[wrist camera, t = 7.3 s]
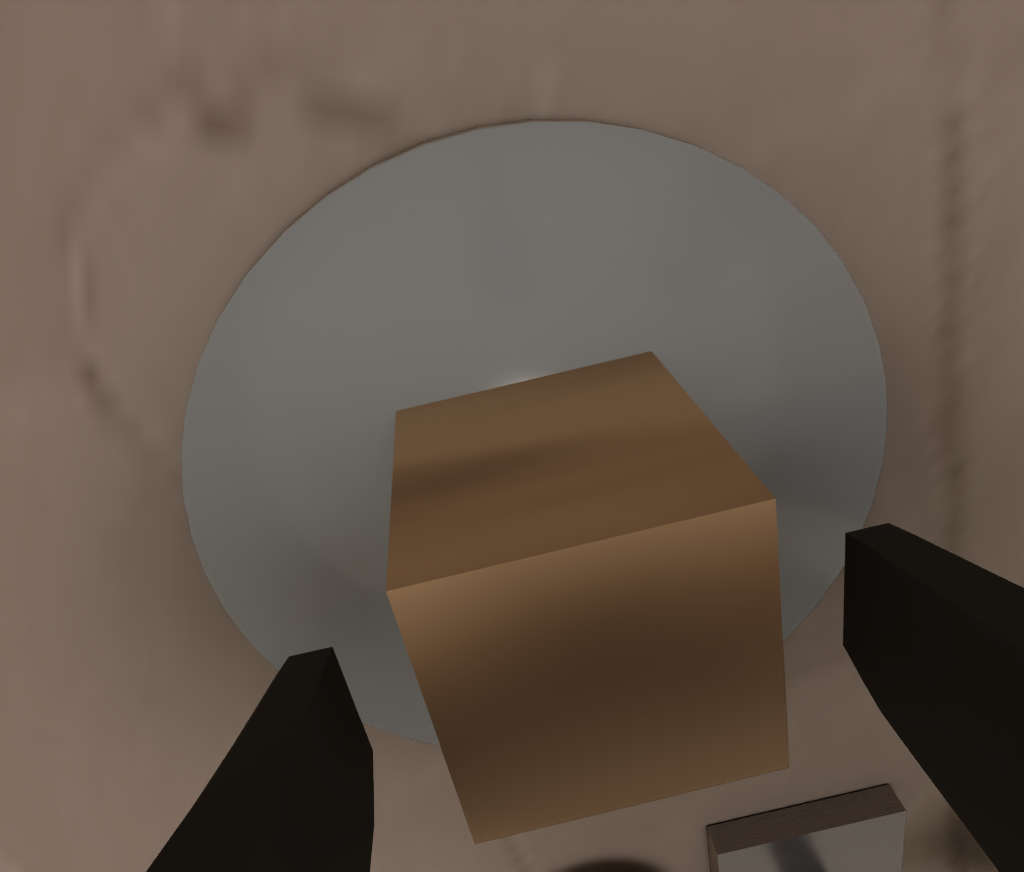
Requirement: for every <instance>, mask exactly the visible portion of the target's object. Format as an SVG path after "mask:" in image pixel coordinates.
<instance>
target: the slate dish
mask: <svg viewBox="0 0 1024 872" xmlns="http://www.w3.org/2000/svg"><path fill="white" fill-rule="evenodd" d="M650 351H652V352H653V354H654V355H655V356H656V357H657V358H658V360H659V361H660V362H661V363H662V364H663V365H664V367H665V368H666V369H667V370H668V371H669V373H670V374H671V375H672V376H673V377H674V379H675V380H676V381H677V382H678V383H679V384H680V386H681V387H682V388H683V389H684V390H685V392H686V393H687V394H688V395H689V396H690V397H691V399H692V400H693V401H694V402H695V403H696V405H697V406H698V407H699V408H700V409H701V411H702V412H703V413H704V414H705V415H706V416H707V418H708V419H709V420H710V421H711V422H712V424H713V425H714V426H715V427H716V428H717V430H718V431H719V432H720V433H721V434H722V435H723V437H724V438H725V439H726V440H727V441H728V443H729V444H730V445H731V446H732V447H733V448H734V450H735V451H736V452H737V453H738V454H739V456H740V457H741V458H742V459H743V460H744V462H745V463H746V464H747V465H748V466H749V467H750V469H751V470H752V471H753V472H754V473H755V475H756V476H757V477H758V478H759V479H760V481H761V482H762V483H763V484H764V485H765V486H766V488H767V489H768V490H769V491H770V492H771V494H772V495H773V496H774V497H775V498H776V514H777V534H778V554H779V574H780V594H781V613H782V633H783V641H784V640H785V639H786V638H787V637H788V636H789V635H790V634H791V633H792V632H793V631H794V630H795V629H796V628H797V627H798V626H799V625H800V623H801V622H802V621H803V620H804V619H805V618H806V617H807V615H808V614H809V613H810V612H811V611H812V610H813V609H814V607H815V606H816V605H817V604H818V603H819V601H820V600H821V599H822V597H823V596H824V594H825V593H826V591H827V590H828V589H829V587H830V586H831V584H832V583H833V581H834V580H835V579H836V577H837V576H838V574H839V573H840V571H841V569H842V568H843V566H844V564H845V533H847V532H851V531H856V530H860V529H862V528H863V526H864V523H865V521H866V518H867V516H868V513H869V511H870V508H871V506H872V503H873V500H874V496H875V492H876V488H877V484H878V480H879V476H880V472H881V469H882V465H883V457H884V448H885V440H886V431H887V394H886V380H885V374H884V369H883V363H882V357H881V352H880V346H879V342H878V339H877V336H876V333H875V330H874V327H873V324H872V321H871V318H870V315H869V313H868V310H867V307H866V304H865V302H864V300H863V298H862V296H861V294H860V292H859V291H858V289H857V287H856V285H855V283H854V281H853V279H852V277H851V275H850V273H849V272H848V270H847V268H846V266H845V264H844V263H843V262H842V260H841V259H840V258H839V256H838V255H837V254H836V253H835V251H834V250H833V249H832V247H831V246H830V245H829V243H828V242H827V241H826V239H825V238H824V237H823V235H822V234H821V233H820V231H819V230H818V229H817V228H816V227H815V226H814V225H813V224H812V223H811V222H810V221H809V220H808V219H807V218H806V217H805V216H804V215H803V214H802V213H800V212H799V211H798V210H797V209H796V208H795V207H794V206H793V205H792V204H791V203H790V202H789V201H788V200H787V199H786V198H785V197H784V196H782V195H781V194H779V193H778V192H776V191H775V190H774V189H772V188H771V187H769V186H768V185H766V184H765V183H763V182H762V181H761V180H759V179H758V178H756V177H755V176H753V175H752V174H750V173H749V172H748V171H746V170H745V169H743V168H741V167H739V166H737V165H735V164H733V163H731V162H729V161H726V160H724V159H722V158H720V157H718V156H716V155H714V154H712V153H710V152H708V151H706V150H704V149H702V148H700V147H697V146H694V145H691V144H688V143H684V142H681V141H678V140H675V139H671V138H668V137H665V136H662V135H658V134H655V133H652V132H649V131H645V130H641V129H637V128H634V127H627V126H621V125H614V124H608V123H601V122H594V121H588V120H559V119H528V120H520V121H513V122H506V123H499V124H491V125H484V126H477V127H473V128H469V129H466V130H462V131H459V132H455V133H452V134H448V135H445V136H441V137H438V138H434V139H431V140H427V141H424V142H421V143H419V144H417V145H415V146H412V147H410V148H408V149H406V150H403V151H401V152H399V153H397V154H394V155H392V156H390V157H388V158H385V159H383V160H381V161H379V162H376V163H374V164H373V165H371V166H369V167H368V168H366V169H365V170H363V171H361V172H360V173H358V174H357V175H355V176H353V177H352V178H350V179H349V180H347V181H346V182H344V183H342V184H341V185H339V186H338V187H336V188H334V189H333V190H331V191H330V192H328V193H327V194H326V195H325V196H324V197H322V198H321V199H320V200H319V201H318V202H316V203H315V204H314V205H313V206H312V207H311V208H309V209H308V210H307V211H306V212H305V213H304V214H302V215H301V216H300V217H299V218H298V219H296V220H295V221H294V222H293V223H292V224H291V225H289V227H288V228H287V229H286V230H285V231H284V232H283V233H282V234H281V236H280V237H279V238H278V239H277V240H276V241H275V242H274V244H273V245H272V246H271V247H270V248H269V249H268V250H267V252H266V253H265V254H264V255H263V256H262V257H261V258H260V259H259V261H258V262H257V263H256V264H255V265H254V266H253V268H252V269H251V270H250V271H249V273H248V274H247V275H246V276H245V278H244V280H243V281H242V283H241V284H240V286H239V287H238V289H237V290H236V292H235V294H234V295H233V297H232V298H231V300H230V301H229V303H228V304H227V306H226V307H225V309H224V311H223V312H222V314H221V315H220V317H219V318H218V321H217V323H216V325H215V327H214V329H213V332H212V334H211V336H210V338H209V341H208V343H207V345H206V347H205V350H204V352H203V354H202V356H201V359H200V361H199V363H198V366H197V370H196V374H195V378H194V381H193V385H192V389H191V392H190V396H189V400H188V403H187V407H186V413H185V423H184V432H183V441H182V450H181V461H182V482H183V498H184V503H185V508H186V513H187V517H188V522H189V527H190V532H191V537H192V540H193V542H194V545H195V548H196V551H197V553H198V556H199V559H200V561H201V564H202V567H203V569H204V572H205V575H206V577H207V579H208V580H209V582H210V584H211V586H212V588H213V589H214V591H215V593H216V595H217V597H218V599H219V600H220V602H221V604H222V606H223V608H224V609H225V611H226V612H227V614H228V615H229V616H230V618H231V619H232V620H233V622H234V623H235V624H236V626H237V627H238V628H239V630H240V631H241V632H242V634H243V635H244V636H245V637H246V639H247V640H248V641H249V643H250V644H251V645H252V646H253V647H254V648H255V649H256V650H257V651H258V652H259V653H260V654H261V655H262V656H263V657H264V658H265V659H266V660H267V661H268V662H269V663H270V664H271V665H272V666H273V667H274V668H275V669H276V670H278V671H279V670H280V669H281V667H282V666H283V664H284V663H285V661H286V660H287V658H288V657H289V656H293V655H297V654H302V653H306V652H311V651H315V650H320V649H324V648H329V647H333V649H334V652H335V654H336V657H337V659H338V662H339V665H340V667H341V670H342V672H343V675H344V678H345V680H346V683H347V685H348V688H349V690H350V693H351V696H352V698H353V701H354V703H355V706H356V709H357V711H358V714H359V716H360V719H361V722H362V723H364V724H367V725H369V726H371V727H373V728H376V729H379V730H383V731H386V732H389V733H392V734H395V735H398V736H401V737H404V738H407V739H411V740H416V741H420V742H425V743H430V744H435V745H439V746H440V743H439V740H438V738H437V735H436V732H435V729H434V726H433V723H432V721H431V718H430V715H429V712H428V709H427V706H426V704H425V701H424V698H423V695H422V692H421V689H420V687H419V684H418V681H417V678H416V675H415V672H414V670H413V667H412V664H411V661H410V658H409V655H408V653H407V650H406V647H405V644H404V641H403V638H402V635H401V633H400V630H399V627H398V624H397V621H396V618H395V616H394V613H393V610H392V607H391V604H390V601H389V599H388V596H387V593H386V582H387V564H388V547H389V529H390V511H391V493H392V475H393V457H394V440H395V422H396V411H398V410H403V409H407V408H411V407H415V406H420V405H424V404H428V403H432V402H437V401H441V400H445V399H449V398H454V397H458V396H462V395H466V394H471V393H475V392H479V391H483V390H488V389H492V388H496V387H501V386H505V385H509V384H513V383H518V382H522V381H526V380H530V379H535V378H539V377H543V376H547V375H552V374H556V373H560V372H564V371H569V370H573V369H577V368H581V367H586V366H590V365H594V364H598V363H603V362H607V361H611V360H615V359H620V358H624V357H628V356H633V355H637V354H641V353H645V352H650Z"/></svg>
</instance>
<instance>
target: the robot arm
mask: <svg viewBox="0 0 1024 872" xmlns="http://www.w3.org/2000/svg"><path fill="white" fill-rule="evenodd" d="M843 646H844V647H845V649H846V651H847V653H848V655H849V656H850V658H851V660H852V662H853V664H854V666H855V667H856V669H857V671H858V673H859V675H860V677H861V678H862V680H863V682H864V684H865V685H866V687H867V689H868V691H869V692H870V694H871V696H872V697H873V699H874V701H875V702H876V704H877V706H878V708H879V709H880V711H881V712H882V714H883V715H884V716H885V718H886V719H887V721H888V722H889V723H890V725H891V726H892V728H893V729H894V730H895V732H896V733H897V734H898V736H899V737H900V739H901V740H902V741H903V743H904V744H905V745H906V747H907V748H908V749H909V751H910V752H911V754H912V755H913V756H914V758H915V759H916V760H917V762H918V763H919V764H920V766H921V767H922V768H923V770H924V771H925V772H926V774H927V775H928V776H929V778H930V779H931V780H932V782H933V783H934V785H935V786H936V787H937V789H938V790H939V791H940V793H941V794H942V795H943V797H944V798H945V799H946V801H947V802H948V803H949V805H950V806H951V807H952V809H953V810H954V811H955V813H956V814H957V815H958V817H959V818H960V819H961V821H962V822H963V823H964V825H965V826H966V827H967V829H968V830H969V831H970V833H971V834H972V835H973V837H974V838H975V839H976V841H977V842H978V844H979V845H980V846H981V848H982V849H983V850H984V852H985V853H986V854H987V856H988V857H989V858H990V860H991V861H992V862H993V864H994V865H995V867H996V868H997V869H998V871H999V872H1024V588H1023V587H1021V586H1018V585H1016V584H1014V583H1012V582H1010V581H1008V580H1006V579H1004V578H1002V577H1000V576H998V575H996V574H994V573H991V572H989V571H987V570H985V569H983V568H981V567H979V566H977V565H975V564H973V563H971V562H969V561H967V560H965V559H963V558H961V557H959V556H957V555H955V554H953V553H951V552H949V551H947V550H945V549H942V548H940V547H938V546H936V545H934V544H932V543H930V542H928V541H926V540H924V539H922V538H920V537H918V536H916V535H913V534H911V533H909V532H907V531H905V530H903V529H900V528H898V527H896V526H894V525H891V524H889V523H887V524H883V525H878V526H874V527H869V528H865V529H860V530H856V531H851V532H847V533H845V574H844V627H843ZM373 831H374V780H373V750H372V747H371V745H370V742H369V740H368V737H367V734H366V732H365V729H364V727H363V724H362V722H361V719H360V716H359V714H358V711H357V709H356V706H355V703H354V701H353V698H352V696H351V693H350V690H349V688H348V685H347V683H346V680H345V678H344V675H343V672H342V670H341V667H340V665H339V662H338V659H337V657H336V654H335V652H334V649H333V647H329V648H324V649H320V650H315V651H311V652H306V653H302V654H297V655H293V656H289V657H288V658H287V660H286V661H285V663H284V664H283V666H282V667H281V669H280V670H279V672H278V674H277V675H276V677H275V678H274V680H273V681H272V683H271V685H270V686H269V688H268V690H267V691H266V693H265V694H264V696H263V698H262V699H261V701H260V703H259V704H258V706H257V707H256V709H255V711H254V712H253V714H252V715H251V717H250V719H249V720H248V722H247V724H246V725H245V727H244V728H243V730H242V731H241V733H240V735H239V736H238V738H237V739H236V741H235V743H234V744H233V746H232V747H231V749H230V750H229V752H228V754H227V755H226V757H225V758H224V760H223V761H222V763H221V764H220V766H219V767H218V769H217V770H216V772H215V773H214V775H213V776H212V778H211V780H210V781H209V783H208V784H207V786H206V787H205V789H204V790H203V792H202V793H201V795H200V796H199V798H198V799H197V801H196V802H195V804H194V805H193V807H192V808H191V810H190V811H189V812H188V814H187V815H186V817H185V818H184V819H183V821H182V822H181V824H180V825H179V826H178V828H177V829H176V831H175V832H174V833H173V835H172V836H171V838H170V839H169V840H168V842H167V843H166V845H165V846H164V847H163V849H162V850H161V852H160V853H159V854H158V856H157V857H156V859H155V860H154V861H153V863H152V864H151V866H150V867H149V868H148V870H147V871H146V872H370V864H371V853H372V842H373Z"/></svg>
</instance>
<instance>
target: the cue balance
mask: <svg viewBox="0 0 1024 872" xmlns="http://www.w3.org/2000/svg"><path fill="white" fill-rule="evenodd" d="M905 821H906V810H905V808H904V807H903V805H902V804H901V802H900V800H899V799H898V797H897V796H896V794H895V793H894V791H893V790H892V788H891V787H890V785H889V784H888V785H884V786H880V787H876V788H871V789H867V790H863V791H858V792H854V793H850V794H845V795H841V796H837V797H833V798H828V799H824V800H820V801H815V802H811V803H807V804H802V805H798V806H794V807H790V808H785V809H781V810H777V811H772V812H768V813H764V814H759V815H755V816H751V817H747V818H742V819H738V820H734V821H729V822H725V823H721V824H716V825H712V826H708V827H707V835H708V845H709V855H710V864H711V872H901V871H902V858H903V846H904V834H905Z"/></svg>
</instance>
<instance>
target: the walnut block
mask: <svg viewBox="0 0 1024 872" xmlns="http://www.w3.org/2000/svg"><path fill="white" fill-rule="evenodd" d="M386 593H387V596H388V599H389V601H390V604H391V607H392V610H393V613H394V616H395V618H396V621H397V624H398V627H399V630H400V633H401V635H402V638H403V641H404V644H405V647H406V650H407V653H408V655H409V658H410V661H411V664H412V667H413V670H414V672H415V675H416V678H417V681H418V684H419V687H420V689H421V692H422V695H423V698H424V701H425V704H426V706H427V709H428V712H429V715H430V718H431V721H432V723H433V726H434V729H435V732H436V735H437V738H438V740H439V743H440V746H441V749H442V752H443V755H444V758H445V760H446V763H447V766H448V769H449V772H450V775H451V777H452V780H453V783H454V786H455V789H456V792H457V794H458V797H459V800H460V803H461V806H462V809H463V811H464V814H465V817H466V820H467V823H468V826H469V828H470V831H471V834H472V837H473V840H474V843H475V844H478V843H482V842H486V841H490V840H494V839H498V838H502V837H506V836H511V835H515V834H519V833H523V832H527V831H531V830H535V829H539V828H543V827H547V826H552V825H556V824H560V823H564V822H568V821H572V820H576V819H580V818H584V817H589V816H593V815H597V814H601V813H605V812H609V811H613V810H617V809H621V808H626V807H630V806H634V805H638V804H642V803H646V802H650V801H654V800H658V799H662V798H667V797H671V796H675V795H679V794H683V793H687V792H691V791H695V790H699V789H704V788H708V787H712V786H716V785H720V784H724V783H728V782H732V781H736V780H741V779H745V778H749V777H753V776H757V775H761V774H765V773H769V772H773V771H778V770H782V769H786V768H789V753H788V733H787V713H786V693H785V673H784V653H783V633H782V613H781V594H780V574H779V554H778V534H777V514H776V498H775V497H774V496H773V495H772V494H771V492H770V491H769V490H768V489H767V488H766V486H765V485H764V484H763V483H762V482H761V481H760V479H759V478H758V477H757V476H756V475H755V473H754V472H753V471H752V470H751V469H750V467H749V466H748V465H747V464H746V463H745V462H744V460H743V459H742V458H741V457H740V456H739V454H738V453H737V452H736V451H735V450H734V448H733V447H732V446H731V445H730V444H729V443H728V441H727V440H726V439H725V438H724V437H723V435H722V434H721V433H720V432H719V431H718V430H717V428H716V427H715V426H714V425H713V424H712V422H711V421H710V420H709V419H708V418H707V416H706V415H705V414H704V413H703V412H702V411H701V409H700V408H699V407H698V406H697V405H696V403H695V402H694V401H693V400H692V399H691V397H690V396H689V395H688V394H687V393H686V392H685V390H684V389H683V388H682V387H681V386H680V384H679V383H678V382H677V381H676V380H675V379H674V377H673V376H672V375H671V374H670V373H669V371H668V370H667V369H666V368H665V367H664V365H663V364H662V363H661V362H660V361H659V360H658V358H657V357H656V356H655V355H654V354H653V352H652V351H650V352H645V353H641V354H637V355H633V356H628V357H624V358H620V359H615V360H611V361H607V362H603V363H598V364H594V365H590V366H586V367H581V368H577V369H573V370H569V371H564V372H560V373H556V374H552V375H547V376H543V377H539V378H535V379H530V380H526V381H522V382H518V383H513V384H509V385H505V386H501V387H496V388H492V389H488V390H483V391H479V392H475V393H471V394H466V395H462V396H458V397H454V398H449V399H445V400H441V401H437V402H432V403H428V404H424V405H420V406H415V407H411V408H407V409H403V410H398V411H396V422H395V440H394V457H393V475H392V493H391V511H390V529H389V547H388V564H387V582H386Z"/></svg>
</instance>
